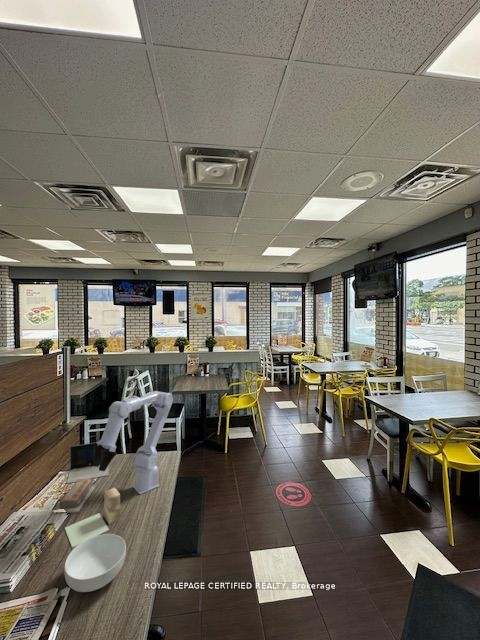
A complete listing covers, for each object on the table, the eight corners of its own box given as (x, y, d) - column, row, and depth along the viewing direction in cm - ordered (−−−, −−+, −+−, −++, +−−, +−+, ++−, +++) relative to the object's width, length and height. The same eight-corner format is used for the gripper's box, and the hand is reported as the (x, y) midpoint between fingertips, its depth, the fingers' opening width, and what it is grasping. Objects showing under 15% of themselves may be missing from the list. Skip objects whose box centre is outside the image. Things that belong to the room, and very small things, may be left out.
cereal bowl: (122, 595, 80) (122, 570, 80) (55, 612, 75) (55, 586, 75) (128, 548, 96) (128, 528, 96) (73, 560, 92) (73, 538, 92)
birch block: (114, 511, 115) (114, 487, 114) (120, 519, 110) (120, 494, 110) (104, 516, 112) (104, 491, 112) (109, 524, 107) (109, 498, 107)
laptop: (66, 484, 133) (66, 457, 133) (70, 471, 145) (70, 446, 145) (108, 476, 141) (108, 450, 141) (108, 464, 152) (108, 440, 152)
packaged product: (73, 477, 131) (96, 476, 132) (73, 488, 131) (96, 487, 132) (52, 503, 113) (78, 501, 114) (52, 515, 113) (78, 513, 114)
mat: (99, 513, 113) (99, 512, 113) (109, 530, 105) (109, 529, 105) (64, 528, 105) (64, 527, 105) (72, 548, 96) (72, 547, 96)
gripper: (96, 427, 118) (82, 463, 113) (108, 432, 107) (94, 471, 102) (112, 430, 122) (100, 465, 117) (125, 435, 112) (112, 473, 106)
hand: (98, 468), depth 110 cm, fingers open, 7 cm apart
